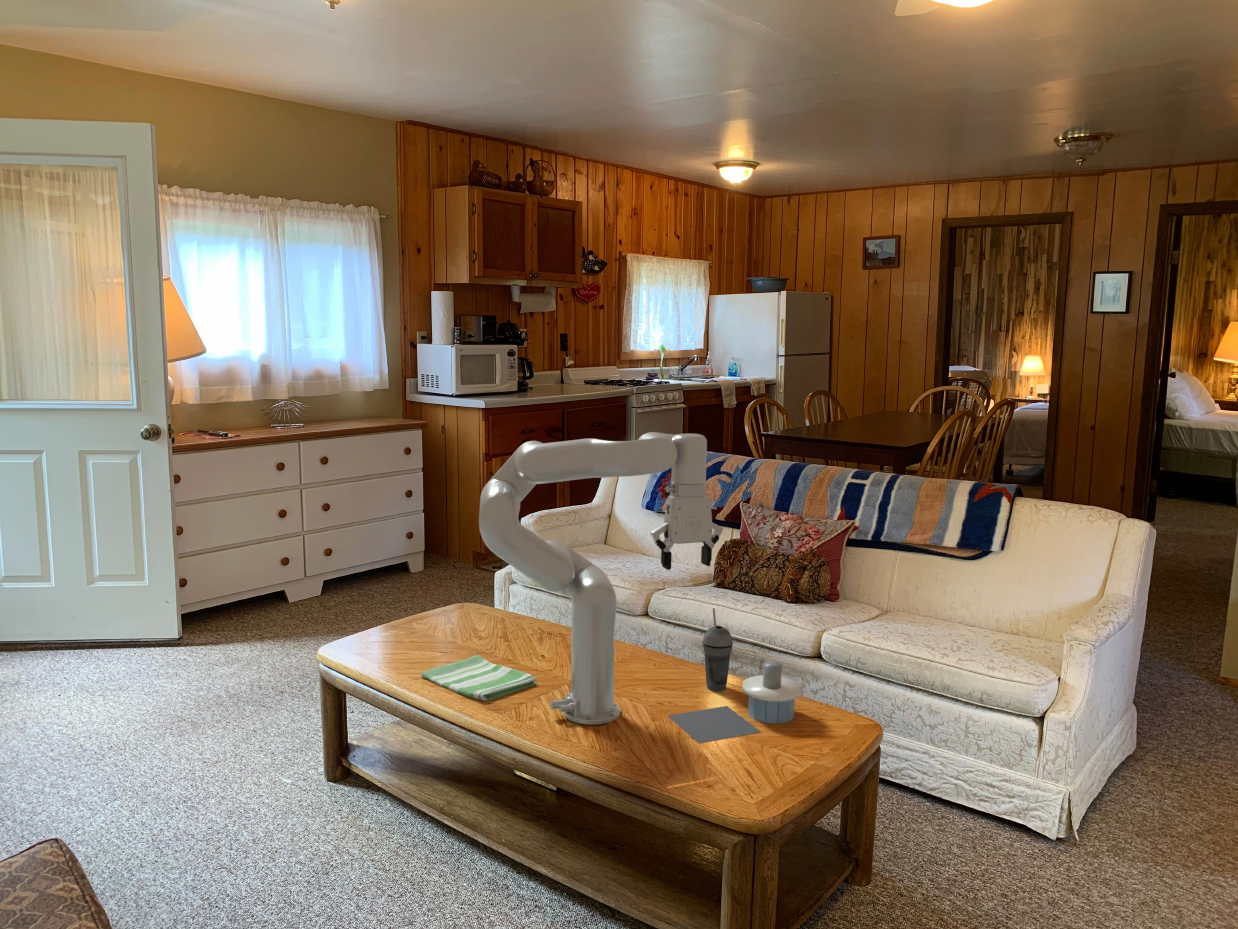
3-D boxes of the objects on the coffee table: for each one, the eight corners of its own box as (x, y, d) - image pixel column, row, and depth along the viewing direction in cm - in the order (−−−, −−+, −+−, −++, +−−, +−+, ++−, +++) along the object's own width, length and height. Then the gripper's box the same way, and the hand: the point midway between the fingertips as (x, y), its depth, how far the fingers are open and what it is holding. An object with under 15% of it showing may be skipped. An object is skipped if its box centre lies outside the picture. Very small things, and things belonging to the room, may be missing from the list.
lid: (762, 705, 198) (763, 678, 197) (731, 683, 210) (732, 658, 209) (813, 696, 203) (814, 670, 203) (780, 676, 215) (781, 651, 214)
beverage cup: (730, 696, 218) (732, 614, 215) (699, 693, 220) (701, 612, 217) (732, 685, 225) (735, 605, 222) (702, 682, 227) (705, 603, 224)
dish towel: (479, 661, 240) (479, 651, 240) (539, 686, 225) (539, 675, 224) (421, 679, 228) (420, 668, 227) (480, 706, 212) (480, 695, 211)
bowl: (763, 727, 201) (764, 701, 200) (740, 710, 210) (740, 685, 209) (802, 721, 205) (803, 695, 204) (777, 704, 214) (778, 679, 213)
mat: (698, 745, 192) (698, 743, 192) (667, 717, 206) (667, 715, 206) (761, 733, 198) (761, 732, 198) (726, 707, 212) (726, 705, 212)
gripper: (659, 495, 196) (658, 574, 199) (731, 491, 203) (728, 567, 205) (645, 489, 203) (643, 565, 206) (714, 485, 210) (712, 559, 212)
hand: (686, 566), depth 206 cm, fingers open, 9 cm apart
